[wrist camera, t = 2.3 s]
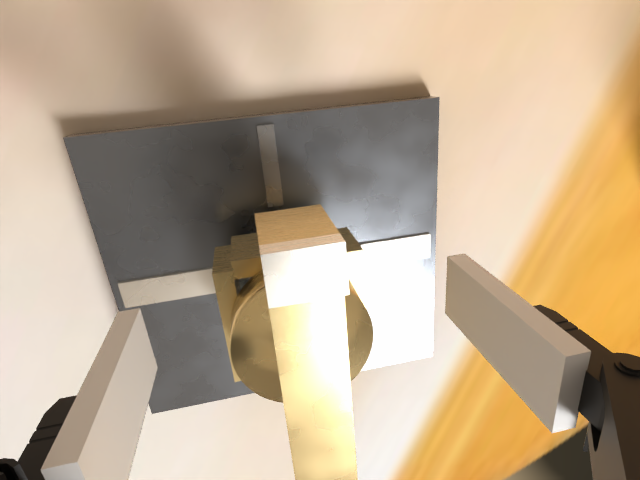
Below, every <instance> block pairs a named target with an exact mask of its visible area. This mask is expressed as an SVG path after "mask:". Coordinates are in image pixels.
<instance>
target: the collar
mask: <svg viewBox="0 0 640 480" xmlns="http://www.w3.org/2000/svg"><path fill="white" fill-rule="evenodd" d="M254 216H255V222H256V229H257V233H251V234H245V235H238V236H231V245H226V246H219V247H215V251H214V260H213V269H212V277H213V281H214V286H215V291H216V296H217V300H218V305H219V310H220V315H221V319H222V324H223V329H224V334H225V338H226V343H227V348H228V353H229V357H230V362H231V367H232V372H233V376H234V381H235V382H238V381H242V382H243V383H244V384H245V385H246V386H247V387H248V388H249V389H250V390H252V391H253V392H255V393H256V394H258V395H260V396H262V397H264V398H267V399H269V400H273V401H277V402H283V403H284V410H285V416H286V422H287V429H288V435H289V442H290V448H291V454H292V461H293V467H294V474H295V480H358V479H357V465H356V451H355V437H354V423H353V409H352V395H351V381H352V380H353V379H354V378H355V377H356V376H357V375H358V373H359V372H360V371H361V370H362V368H363V367H364V365H365V364H366V362H367V360H368V358H369V356H370V353H371V350H372V345H373V337H374V331H373V324H372V321H371V317H370V315H369V313H368V311H367V305H366V284H365V263H364V249H363V248H362V247H361V245H360V244H359V243H358V241H357V240H356V239H355V237H354V236H353V235H352V233H351V232H350V231H349V229H348V228H347V227H345V228H338V229H337V228H336V227H335V225H334V224H333V222H332V221H331V219H330V218H329V216H328V215H327V213H326V212H325V210H324V209H323V207H322V206H321V204H319V205H312V206H305V207H297V208H290V209H283V210H276V211H269V212H262V213H255V214H254ZM247 277H252V278H251V279H250V280H249V281H248V282H247V283H246V284H245V285H244V286H243V288H242V289H241V288H240V282H239V279H241V278H247Z"/></svg>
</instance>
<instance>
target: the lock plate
mask: <svg viewBox="0 0 640 480" xmlns="http://www.w3.org/2000/svg"><path fill="white" fill-rule="evenodd" d="M438 131H439V97H432V96H430V97H420V98H411V99H401V100H392V101H383V102H373V103H364V104H355V105H345V106H336V107H327V108H317V109H308V110H299V111H289V112H280V113H271V114H261V115H252V116H242V117H233V118H224V119H214V120H205V121H196V122H186V123H177V124H168V125H158V126H149V127H140V128H130V129H121V130H112V131H102V132H93V133H83V134H74V135H69V136H66V137H64V142H65V145H66V148H67V151H68V154H69V157H70V160H71V163H72V166H73V170H74V173H75V176H76V179H77V182H78V185H79V188H80V191H81V194H82V198H83V201H84V204H85V207H86V210H87V213H88V216H89V219H90V222H91V226H92V229H93V232H94V235H95V238H96V241H97V244H98V247H99V250H100V254H101V257H102V260H103V263H104V266H105V269H106V272H107V275H108V278H109V281H110V285H111V288H112V291H113V294H114V297H115V300H116V303H117V306H118V309H119V312H120V311H126V310H132V309H137V308H140V310H141V313H142V316H143V320H144V323H145V327H146V330H147V333H148V337H149V340H150V343H151V347H152V350H153V353H154V357H155V360H156V364H157V367H158V368H157V372H156V376H155V380H154V383H153V387H152V391H151V395H150V399H149V402H148V403H149V406H150V409H151V412H152V414H154V413H158V412H163V411H168V410H173V409H178V408H183V407H188V406H193V405H197V404H202V403H207V402H212V401H217V400H222V399H227V398H232V397H236V396H241V395H246V394H251V393H255V392H253V391H252V390H250V389H249V388H248V387H247V386H246V385H245V384H244V383H243V382H242V381H238V382H235V381H234V376H233V372H232V367H231V362H230V357H229V353H228V348H227V343H226V338H225V334H224V329H223V324H222V319H221V315H220V310H219V305H218V300H217V296H216V291H215V286H214V281H213V277H212V269H213V260H214V251H215V247H219V246H226V245H231V236H238V235H245V234H251V233H257V229H256V222H255V216H254V214H255V213H262V212H269V211H276V210H283V209H290V208H297V207H305V206H312V205H319V204H321V206H322V207H323V209H324V210H325V212H326V213H327V215H328V216H329V218H330V219H331V221H332V222H333V224H334V225H335V227H336V228H337V229H338V228H345V227H347V228H348V229H349V231H350V232H351V233H352V235H353V236H354V237H355V239H356V240H357V241H358V243H359V244H360V245H361V247H362V248H363V249H364V263H365V284H366V305H367V311H368V313H369V315H370V317H371V321H372V324H373V331H374V337H373V345H372V350H371V353H370V356H369V358H368V360H367V362H366V364H365V365H364V367H363V368H362V370H361V371H363V370H368V369H373V368H378V367H383V366H387V365H392V364H397V363H402V362H407V361H412V360H417V359H422V358H426V357H431V356H433V324H434V285H435V247H436V208H437V169H438ZM251 278H252V277H247V278H241V279H239V282H240V288H241V289H242V288H243V286H244V285H245V284H246V283H247V282H248V281H249V280H250V279H251Z"/></svg>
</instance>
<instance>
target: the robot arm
mask: <svg viewBox="0 0 640 480" xmlns="http://www.w3.org/2000/svg"><path fill="white" fill-rule="evenodd" d="M445 313H446V315H447V316H448V317H449V318H450V319H451V320H452V321H453V322H454V324H455V325H456V326H457V327H458V328H459V329H460V330H461V331H462V333H463V334H464V335H465V336H466V337H467V338H468V339H469V340H470V342H471V343H472V344H473V345H474V346H475V347H476V348H477V349H478V351H479V352H480V353H481V354H482V355H483V356H484V357H485V358H486V360H487V361H488V362H489V363H490V364H491V365H492V366H493V367H494V369H495V370H496V371H497V372H498V373H499V374H500V375H501V376H502V377H503V379H504V380H505V381H506V382H507V383H508V384H509V385H510V386H511V388H512V389H513V390H514V391H515V392H516V393H517V394H518V395H519V397H520V398H521V399H522V400H523V401H524V402H525V403H526V404H527V406H528V407H529V408H530V409H531V410H532V411H533V412H534V413H535V415H536V416H537V417H538V418H539V419H540V420H541V421H542V422H543V424H544V425H545V426H546V427H547V428H548V429H549V430H550V431H551V433H555V432H559V431H563V430H567V429H571V428H575V427H576V422H577V417H578V412H580V413H581V414H582V415H583V416H584V417H585V418H586V419H587V420H588V421H589V425H588V430H587V434H586V438H585V443H584V448H583V451H585V452H587V451H588V447H589V450H590V458H591V466H592V474H593V480H640V357H638V356H634V355H630V354H626V353H612V352H611V351H609V350H608V349H606V348H605V347H604V346H602V345H601V344H600V343H598V342H597V341H595V340H594V339H593V338H591V337H590V336H589V335H587V334H586V333H585V332H583V331H582V330H580V329H579V330H578V327H576V326H575V325H574V324H572V323H571V322H568V320H567V319H565V318H564V317H563V316H561V315H560V314H559V313H557V312H556V311H553V310H551V309H549V308H546V307H544V306H542V305H537V306H532V305H531V304H529V303H528V302H527V301H525V300H524V299H523V298H522V297H520V296H519V295H518V294H516V293H515V292H514V291H513V290H511V289H510V288H509V287H507V286H506V285H505V284H503V283H502V282H501V281H500V280H498V279H497V278H496V277H494V276H493V275H492V274H490V273H489V272H488V271H487V270H485V269H484V268H483V267H481V266H480V265H479V264H477V263H476V262H475V261H474V260H472V259H471V258H470V257H468V256H467V255H466V254H459V255H453V256H447V280H446V306H445ZM157 368H158V367H157V364H156V360H155V357H154V353H153V350H152V347H151V343H150V340H149V337H148V333H147V330H146V327H145V323H144V320H143V316H142V313H141V310H140V308H137V309H132V310H126V311H120V312H118V313H117V315H116V317H115V319H114V321H113V324H112V326H111V328H110V330H109V332H108V334H107V336H106V338H105V340H104V342H103V344H102V346H101V348H100V350H99V352H98V354H97V356H96V358H95V360H94V362H93V364H92V366H91V368H90V370H89V372H88V374H87V376H86V378H85V380H84V382H83V384H82V386H81V388H80V391H79V393H78V395H77V396H71V397H66V398H61V399H59V400H58V401H57V402H56V403H55V404H54V405H53V406H52V407H51V408H50V409H49V410H48V411H47V412H46V413H45V414H44V416H43V417H42V419H41V421H40V423H39V425H38V426H37V428H36V429H37V430H36V431H35V432H34V433H33V435H32V437H31V439H30V441H29V444H27V446H26V448H25V449H24V451H23V453H22V455H21V457H20V458H19V460H18V462H17V461H16V460H14V459H7V458H3V459H0V480H128V478H129V475H130V471H131V467H132V463H133V459H134V456H135V452H136V448H137V444H138V440H139V437H140V433H141V429H142V425H143V421H144V418H145V414H146V410H147V406H148V402H149V399H150V395H151V391H152V387H153V383H154V380H155V376H156V372H157Z"/></svg>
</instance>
